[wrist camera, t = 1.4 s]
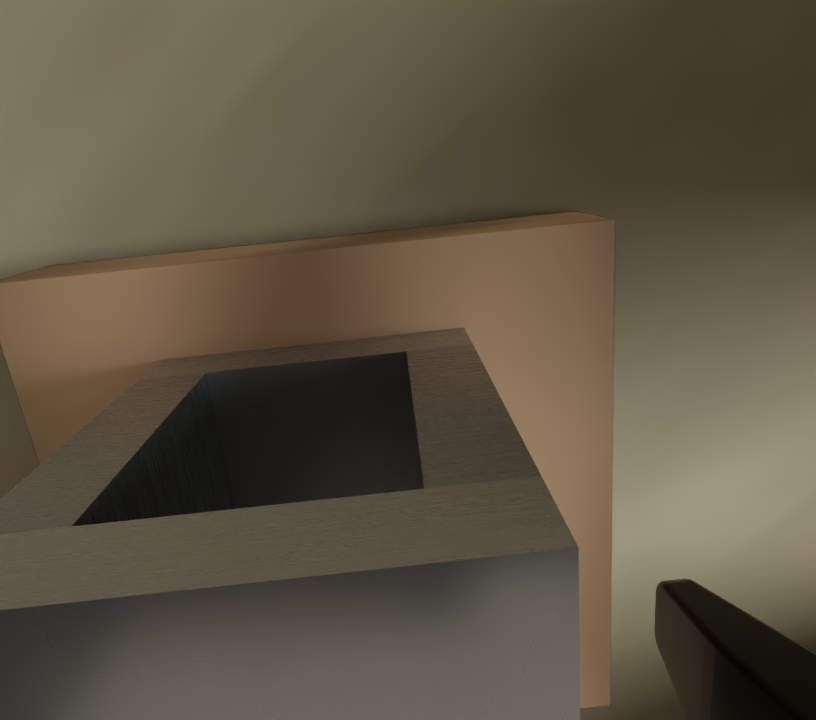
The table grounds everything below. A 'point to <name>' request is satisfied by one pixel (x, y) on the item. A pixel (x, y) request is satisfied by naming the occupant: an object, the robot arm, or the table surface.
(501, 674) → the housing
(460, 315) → the stand
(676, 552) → the table surface
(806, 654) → the robot arm
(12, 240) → the table surface
